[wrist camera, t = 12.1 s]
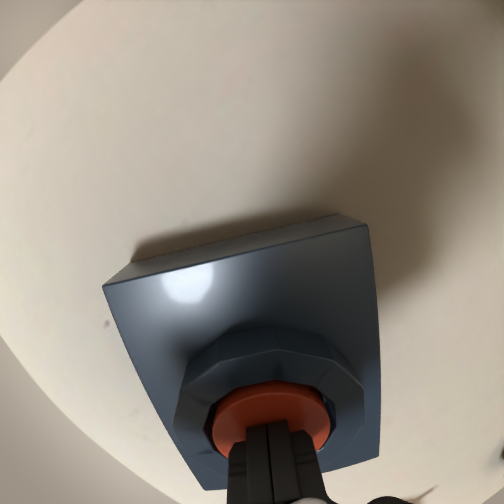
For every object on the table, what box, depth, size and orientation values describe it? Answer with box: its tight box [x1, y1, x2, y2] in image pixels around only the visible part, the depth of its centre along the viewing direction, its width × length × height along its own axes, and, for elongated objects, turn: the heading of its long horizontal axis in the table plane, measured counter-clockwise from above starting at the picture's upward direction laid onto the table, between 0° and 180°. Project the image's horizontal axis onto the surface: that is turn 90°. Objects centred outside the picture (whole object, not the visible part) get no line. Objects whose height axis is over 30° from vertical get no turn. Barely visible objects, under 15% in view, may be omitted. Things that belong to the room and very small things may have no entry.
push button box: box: [102, 214, 381, 491], centre depth 13 cm, size 13×10×5 cm
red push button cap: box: [212, 379, 330, 458], centre depth 11 cm, size 4×4×2 cm
